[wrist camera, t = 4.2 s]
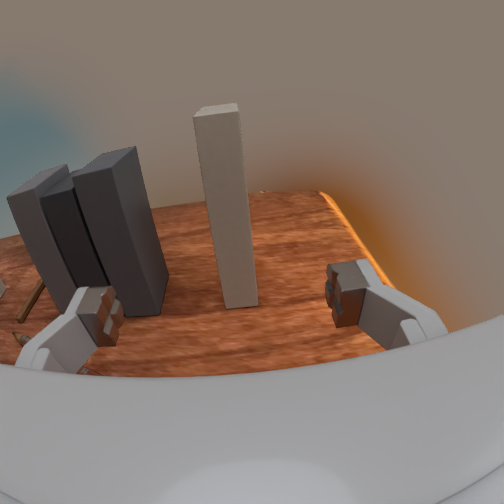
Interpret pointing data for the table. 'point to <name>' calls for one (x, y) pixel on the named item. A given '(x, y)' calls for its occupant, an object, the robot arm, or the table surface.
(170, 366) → the table surface
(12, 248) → the table surface
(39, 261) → the grey books
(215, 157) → the white book
